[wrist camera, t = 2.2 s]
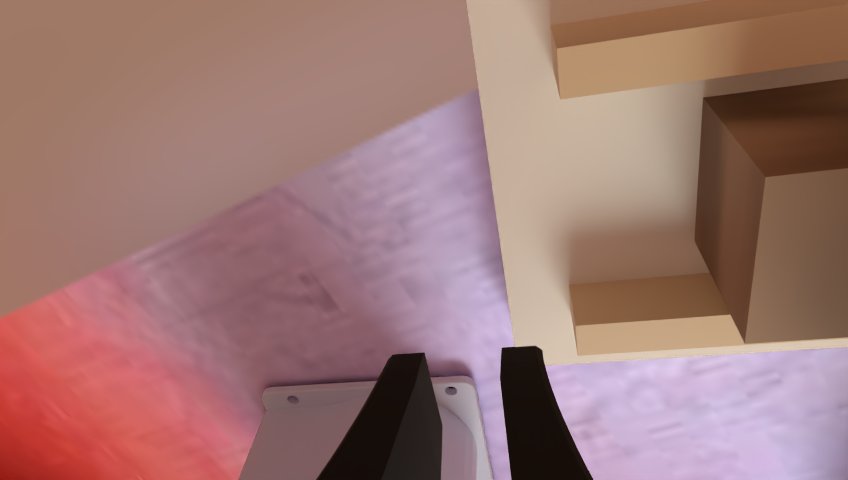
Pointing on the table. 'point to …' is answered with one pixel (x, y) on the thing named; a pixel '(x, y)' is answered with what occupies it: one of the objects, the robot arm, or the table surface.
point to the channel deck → (625, 159)
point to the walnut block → (777, 209)
